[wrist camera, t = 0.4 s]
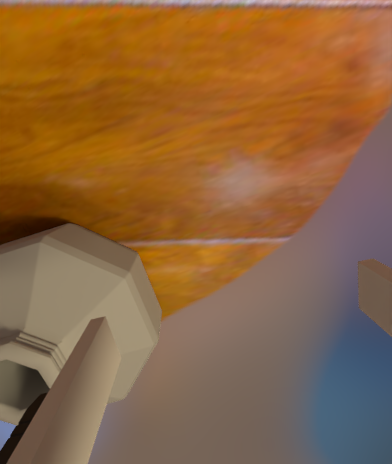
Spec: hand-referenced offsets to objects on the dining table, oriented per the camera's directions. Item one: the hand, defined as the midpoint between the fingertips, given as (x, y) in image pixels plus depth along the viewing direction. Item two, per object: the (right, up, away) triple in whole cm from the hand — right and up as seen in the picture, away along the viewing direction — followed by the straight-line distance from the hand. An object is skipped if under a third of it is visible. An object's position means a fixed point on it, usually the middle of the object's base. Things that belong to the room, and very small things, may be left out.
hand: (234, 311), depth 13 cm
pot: (-21, -7, +30) cm, 38 cm away
